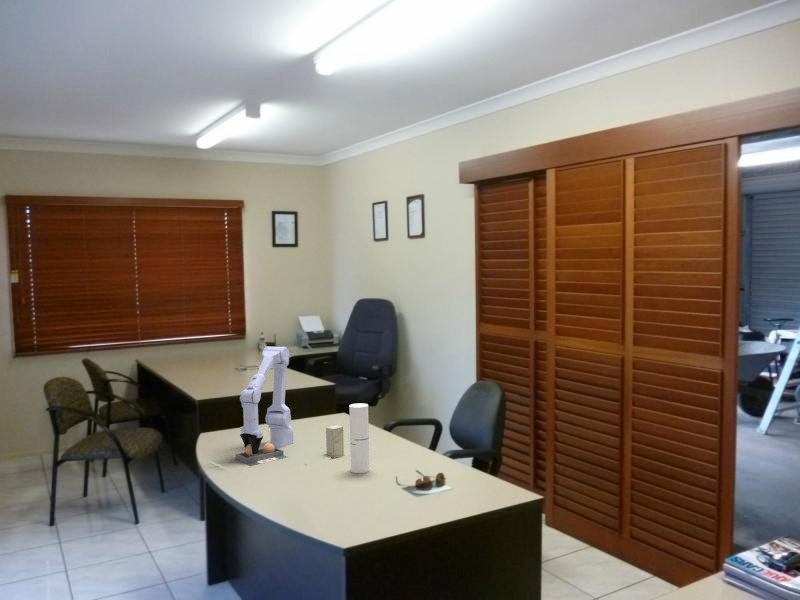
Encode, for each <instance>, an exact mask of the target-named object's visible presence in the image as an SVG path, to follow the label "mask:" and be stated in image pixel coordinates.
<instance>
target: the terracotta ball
mask: <svg viewBox="0 0 800 600" xmlns="http://www.w3.org/2000/svg"><path fill="white" fill-rule="evenodd" d="M244 449H245V448H244ZM244 452H246V454H247V455H248V456H255V455H256V454H253V453H252V448H251V444H249V445H248V446H247V447H246V449H245V450H244Z"/></svg>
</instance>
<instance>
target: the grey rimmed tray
mask: <svg viewBox="0 0 800 600" xmlns="http://www.w3.org/2000/svg"><path fill="white" fill-rule="evenodd" d="M284 454H285V453H284V450H282V449H281V448H279V447H275V451H274V452H272V453H268V454H264V453H263V451H262V448H259V451H258V453H257V454H256V455H255V456H248V455H247V454H246V452H245V451H244V452H240V453H239V452H238V453H236V454H235V460H236V461H238V462H241V463H243V464H245V465H247V466H249V467H253V466H258V465H263V464H265V463H270V462H274V461H278V460H283V459H285V458H288V456H287V455H284Z"/></svg>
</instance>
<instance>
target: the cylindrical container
mask: <svg viewBox="0 0 800 600" xmlns="http://www.w3.org/2000/svg"><path fill="white" fill-rule="evenodd" d="M348 409H349V442H350V443H349V447H350V448H349V449H350V450H349V452H350V455H349V456H350V472H351V473H354V474H364V473H368V472H370V433H369V432H370V431H369V430H370V429H369V404H368V403H359V402H358V403H352V404H349V407H348Z"/></svg>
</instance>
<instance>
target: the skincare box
mask: <svg viewBox="0 0 800 600" xmlns="http://www.w3.org/2000/svg"><path fill="white" fill-rule="evenodd" d="M325 433H326V434H325V435H326V437H325V438H326V441H325V442H326V455H327V456H330V457H331V459H337V458H339V456H340V457H342V455H343V456H344V455H345V446H344V445H345V442H344V440H345V439H344V426H342V425H337V424H335V425H331V426H328V427H326V428H325ZM336 457H337V458H336Z"/></svg>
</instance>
